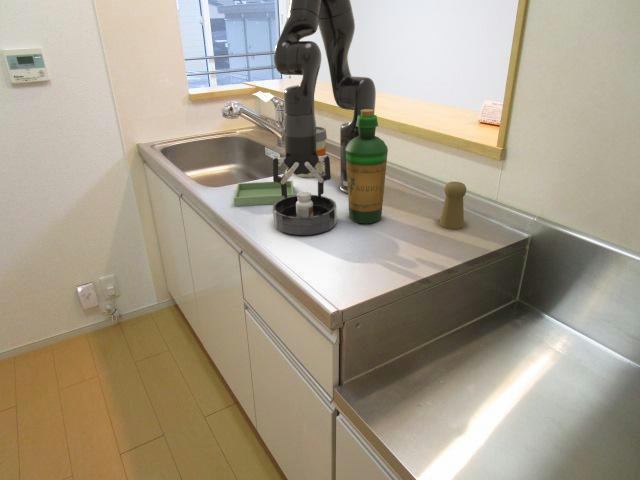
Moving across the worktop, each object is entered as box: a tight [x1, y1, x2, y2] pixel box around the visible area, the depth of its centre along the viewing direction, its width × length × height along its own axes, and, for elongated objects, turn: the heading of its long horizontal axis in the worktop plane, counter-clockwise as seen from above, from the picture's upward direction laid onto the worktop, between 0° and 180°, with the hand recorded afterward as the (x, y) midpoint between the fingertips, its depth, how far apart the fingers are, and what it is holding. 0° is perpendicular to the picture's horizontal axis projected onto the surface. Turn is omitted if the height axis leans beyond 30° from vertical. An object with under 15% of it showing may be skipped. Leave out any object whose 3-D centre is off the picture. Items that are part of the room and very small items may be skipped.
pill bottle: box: [296, 191, 313, 217], centre depth 116 cm, size 4×4×8 cm
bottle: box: [346, 109, 389, 225], centre depth 113 cm, size 11×11×28 cm
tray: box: [233, 180, 295, 207], centre depth 136 cm, size 17×13×2 cm
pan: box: [272, 194, 338, 236], centre depth 117 cm, size 16×16×5 cm
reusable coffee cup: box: [297, 126, 328, 179], centre depth 153 cm, size 13×13×15 cm
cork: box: [439, 181, 467, 230], centre depth 112 cm, size 6×6×11 cm
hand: (302, 196), depth 114 cm, fingers open, 8 cm apart
